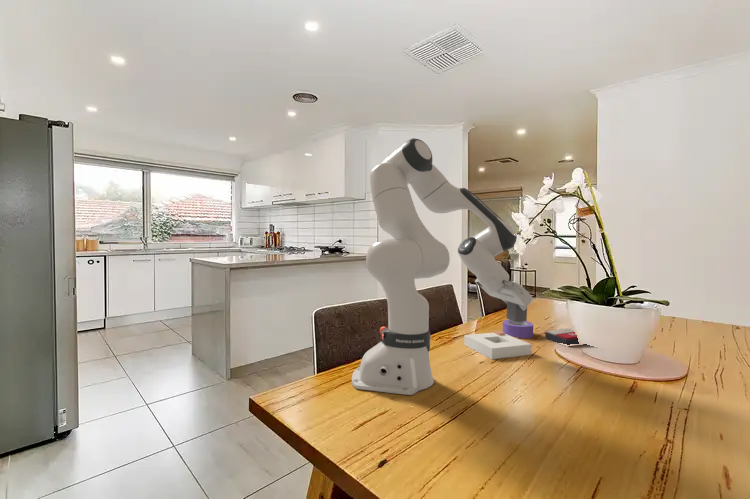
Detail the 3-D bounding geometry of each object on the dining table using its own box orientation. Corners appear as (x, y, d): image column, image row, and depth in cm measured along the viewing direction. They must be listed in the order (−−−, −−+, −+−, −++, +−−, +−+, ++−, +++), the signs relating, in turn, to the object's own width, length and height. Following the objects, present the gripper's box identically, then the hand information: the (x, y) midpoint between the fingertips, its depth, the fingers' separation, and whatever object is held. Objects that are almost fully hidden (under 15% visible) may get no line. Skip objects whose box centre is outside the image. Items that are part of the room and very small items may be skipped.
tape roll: (513, 339, 136) (513, 326, 136) (496, 331, 148) (497, 319, 148) (539, 338, 139) (539, 325, 139) (521, 330, 150) (521, 318, 150)
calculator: (544, 330, 138) (575, 326, 142) (544, 340, 138) (575, 336, 142) (566, 337, 127) (599, 333, 131) (566, 349, 127) (599, 344, 131)
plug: (515, 321, 115) (516, 298, 115) (506, 318, 119) (507, 295, 119) (526, 321, 116) (527, 297, 116) (517, 317, 121) (518, 295, 120)
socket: (491, 359, 113) (492, 346, 113) (464, 344, 128) (464, 333, 128) (531, 354, 118) (531, 341, 118) (500, 341, 133) (500, 329, 133)
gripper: (522, 276, 105) (546, 306, 108) (483, 268, 125) (505, 294, 128) (508, 291, 104) (534, 321, 107) (471, 281, 124) (494, 307, 127)
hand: (518, 307), depth 118 cm, fingers closed on plug, 4 cm apart
